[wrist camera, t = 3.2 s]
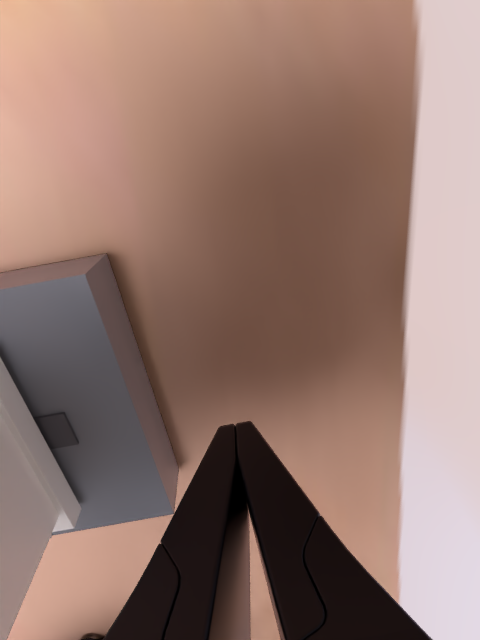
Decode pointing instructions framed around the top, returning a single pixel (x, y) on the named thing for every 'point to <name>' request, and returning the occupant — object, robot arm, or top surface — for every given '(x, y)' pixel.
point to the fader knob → (26, 500)
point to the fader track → (88, 389)
